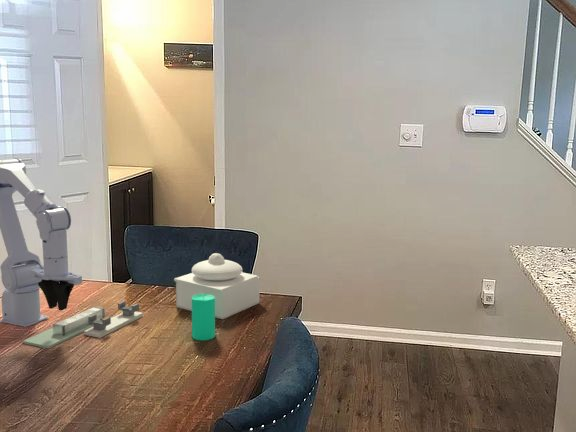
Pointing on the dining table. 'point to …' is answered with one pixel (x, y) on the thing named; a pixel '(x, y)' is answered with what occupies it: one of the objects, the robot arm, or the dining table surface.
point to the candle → (203, 316)
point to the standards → (113, 320)
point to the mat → (52, 337)
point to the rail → (77, 321)
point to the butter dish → (219, 286)
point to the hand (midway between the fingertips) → (57, 308)
